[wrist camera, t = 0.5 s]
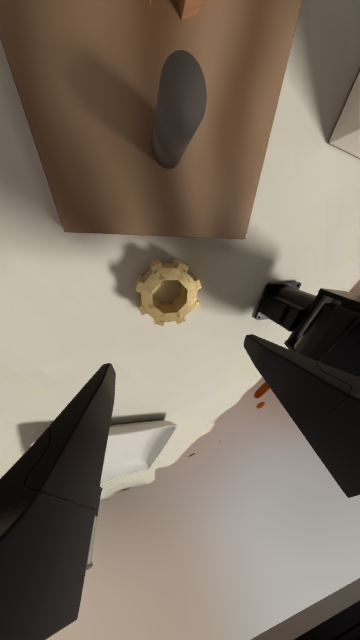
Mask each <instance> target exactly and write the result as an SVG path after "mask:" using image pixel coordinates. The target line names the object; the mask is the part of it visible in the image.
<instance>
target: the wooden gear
mask: <svg viewBox="0 0 360 640" xmlns="http://www.w3.org/2000/svg"><path fill="white" fill-rule="evenodd" d="M149 264H150V266H151V268H150V269H149V270H148V271H147V272H146V273H145V274H144V276H142V275H139V274H138V277H137V281H136V288H135V291H136V292H139V293H141V296H140V297H138V309H139V311H140V312H141V314H142V315H144V314H146V313H147V314H149V315H150V316H151V317H153V318H154V323H155V324H158V325H162V326H163V325H164V322H170V321H176V322H177V324H179V323H181V322H183V321H185V319H184V317H185V316H186V315H187V314H188V313H189V312H190V311H191V310H192V309H193V310H197V308H198V306H199V304H200V302H199V301H198V300H197V290H199V289H201V288H202V287H201V283H200V280H199V279H198V278H197V277H196V276H194V275H193V274H192V273H190V274H188V273H187V270H188V268H189V267H188V266H187V265H185V264H184V263H182V262H180V261H178V260H176V259H173V261H172V263H161V262H160V261H159V260H158V258H157V259H155V260H153V261H151V262H149ZM162 280H179V281H180V282H181V294H180V295H179V296H178V297H177V298H176V299H175V300H174V301H173V302H172V303H159V302H158V301H157V300H156V299H154V298H153V297H152V291H153V290H154V289H155V288H156V287H157V286H158V285H159V284H160V283H161V282H162Z"/></svg>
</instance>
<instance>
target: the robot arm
mask: <svg viewBox="0 0 360 640" xmlns="http://www.w3.org/2000/svg"><path fill="white" fill-rule="evenodd" d="M300 286H301V283H299V282H284V283H269V284H267V285H266V288H265V291H264V293H263V296H262V299H261V302H260V304H259V307H258V310H257V313H256V316H255V319H257V320H263V319H271V320H272V321H274V322H275V323H277V324H279V325H280V326H282V327H283V328H285V329H286V330H288V331H290V332H292V334H291V335H290V337H289V338H288V340H286V341H285V343H284V344H285V345H286V346H287V347H288V348H289V349H286V348H284V347H282V346H279V345H277V344H274V343H272V342H270V341H267V340H265V339H262V338H260V337H258V336H255V335H253V334H250V335H246V337H245V341H244V348H245V349H246V351H247V353H248V355H249V356H250V358H251V360H252V362H253V364H254V365H255V367H256V368H257V370H258V371H259V373H260V374H261V375H262V377H263V378H264V380H265V381H266V383H267V384H268V385H269V387H270V388H271V390H272V391H273V392H274V394H275V395H276V397H277V398H278V399H279V401H280V402H281V404H282V405H283V406H284V408H285V409H286V411H287V412H288V414H289V415H290V417H291V418H292V419H293V421H294V422H295V424H296V425H297V426H298V428H299V429H300V431H301V432H302V434H303V435H304V436H305V438H306V439H307V441H308V442H309V443H310V445H311V446H312V448H313V449H314V451H315V452H316V453H317V455H318V456H319V458H320V459H321V461H322V462H323V464H324V465H325V466H326V468H327V469H328V471H329V472H330V473H331V475H332V476H333V478H334V479H335V481H336V482H337V483H338V485H339V486H340V488H341V489H342V490H343V492H344V493H345V494H346V496H347V497H348V498H350V497H353V496H357V495H360V295H357V294H353V293H350V292H346V291H339V290H331V289H323V288H321V289H320V290H319V292H318V295H317V296H315V295H312V294H309V293H306V292H304V291H301V290H299V288H300ZM115 377H116V374H115V370H114V368H113V366H112V364H111V363H107V364H103V365H102V366H101V367H100V369H99V370H98V371H97V372H96V373H95V374H94V375H93V377H92V378H91V379H90V380H89V381H88V382H87V383H86V385H85V386H84V387H83V388H82V389H81V390H80V391H79V393H78V394H77V395H76V396H75V397H74V398H73V399H72V401H71V402H70V403H69V404H68V405H67V406H66V407H65V409H64V410H63V411H62V412H61V413H60V414H59V415H58V417H57V418H56V419H55V420H54V421H53V422H52V423H51V425H50V427H48V428H47V429H46V430H45V431H44V433H43V434H42V435H41V436H40V437H39V438H38V439H37V440H36V442H35V443H34V444H33V445H32V446H31V447H30V448H29V449H28V450H27V451H26V453H25V454H24V455H23V456H22V457H21V458H20V459H19V460H18V461H17V462H16V463H15V464H14V465H13V466H12V467H11V468H10V469H9V470H8V471H7V472H6V474H5V475H4V476H3V477H2V478H1V479H0V640H46V639H47V638H49V637H50V636H52V635H54V634H55V633H57V632H58V631H60V630H61V629H63V628H64V627H66V626H68V625H69V624H71V623H72V622H74V621H75V620H77V617H78V612H79V607H80V601H81V595H82V588H83V583H84V577H85V571H86V566H87V560H88V554H89V548H90V542H91V536H92V530H93V524H94V518H95V512H96V510H95V509H96V506H97V500H98V494H99V488H100V482H101V476H102V470H103V464H104V458H105V452H106V446H107V441H108V435H109V429H110V423H111V417H112V411H113V405H114V396H115ZM251 640H360V578H359V579H357V580H356V581H354V582H352V583H350V584H349V585H347V586H345V587H343V588H342V589H340V590H338V591H336V592H334V593H333V594H331V595H329V596H327V597H326V598H324V599H322V600H320V601H319V602H317V603H315V604H313V605H311V606H310V607H308V608H306V609H304V610H302V611H301V612H299V613H297V614H295V615H293V616H292V617H290V618H288V619H286V620H285V621H283V622H281V623H279V624H277V625H276V626H274V627H272V628H271V629H269V630H267V631H265V632H263V633H261V634H260V635H258V636H257V637H254V638H253V639H251Z"/></svg>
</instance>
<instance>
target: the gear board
mask: <svg viewBox="0 0 360 640" xmlns="http://www.w3.org/2000/svg"><path fill="white" fill-rule="evenodd" d="M301 3H302V0H0V39H1V42H2V45H3V48H4V51H5V54H6V57H7V60H8V63H9V66H10V69H11V72H12V75H13V78H14V81H15V84H16V87H17V90H18V93H19V96H20V99H21V102H22V105H23V108H24V111H25V114H26V117H27V120H28V123H29V126H30V129H31V132H32V135H33V138H34V142H35V145H36V148H37V151H38V154H39V157H40V160H41V163H42V166H43V169H44V172H45V175H46V178H47V181H48V184H49V187H50V190H51V193H52V196H53V199H54V202H55V205H56V208H57V211H58V214H59V217H60V220H61V223H62V226H63V229H64V232H77V233H102V234H127V235H152V236H177V237H202V238H227V239H245V237H246V233H247V229H248V224H249V220H250V216H251V212H252V208H253V204H254V199H255V195H256V191H257V187H258V183H259V178H260V174H261V170H262V166H263V162H264V158H265V153H266V149H267V145H268V141H269V137H270V132H271V128H272V124H273V120H274V116H275V112H276V107H277V103H278V99H279V95H280V91H281V86H282V82H283V78H284V74H285V70H286V66H287V61H288V57H289V53H290V49H291V45H292V40H293V36H294V32H295V28H296V24H297V20H298V15H299V11H300V7H301Z"/></svg>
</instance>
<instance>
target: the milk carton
mask: <svg viewBox="0 0 360 640" xmlns="http://www.w3.org/2000/svg"><path fill="white" fill-rule="evenodd" d="M329 143H330V144H332V145H334V146H336V147H338V148H340V149H342V150H344V151H346V152H348V153H350V154H352V155H354V156H356V157H358V158H360V72H359V74H358V76H357V79H356V81H355V83H354V86H353V88H352V90H351V92H350V95H349V97H348V99H347V102H346V104H345V106H344V108H343V111H342V113H341V115H340V118H339V120H338V122H337V124H336V127H335V129H334V131H333V134H332V136H331V138H330V141H329Z"/></svg>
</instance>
